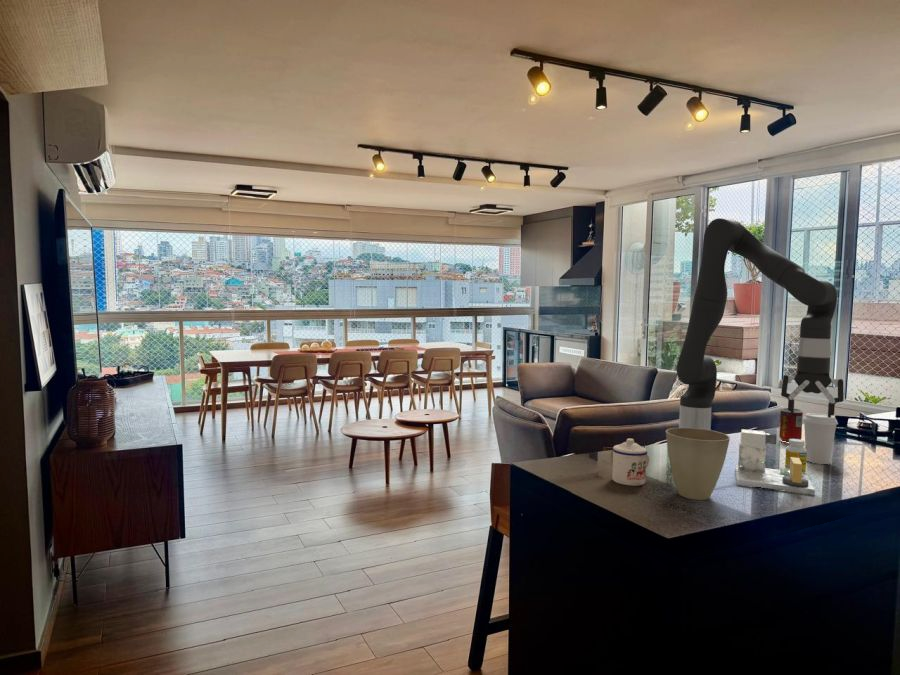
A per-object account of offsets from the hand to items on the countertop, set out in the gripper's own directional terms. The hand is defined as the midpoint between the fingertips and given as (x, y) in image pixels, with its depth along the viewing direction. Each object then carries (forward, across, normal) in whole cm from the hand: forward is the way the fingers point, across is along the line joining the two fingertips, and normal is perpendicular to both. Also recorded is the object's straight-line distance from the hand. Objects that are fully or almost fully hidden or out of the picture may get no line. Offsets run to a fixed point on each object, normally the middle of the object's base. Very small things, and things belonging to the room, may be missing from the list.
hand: (810, 415), depth 158 cm
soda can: (+20, -6, +64) cm, 67 cm away
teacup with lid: (+20, -41, -23) cm, 51 cm away
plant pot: (+20, -24, -27) cm, 41 cm away
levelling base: (+20, -8, 0) cm, 21 cm away
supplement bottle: (+20, -3, +16) cm, 26 cm away
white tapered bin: (+20, +3, +35) cm, 40 cm away
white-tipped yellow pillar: (+18, -3, -4) cm, 19 cm away
